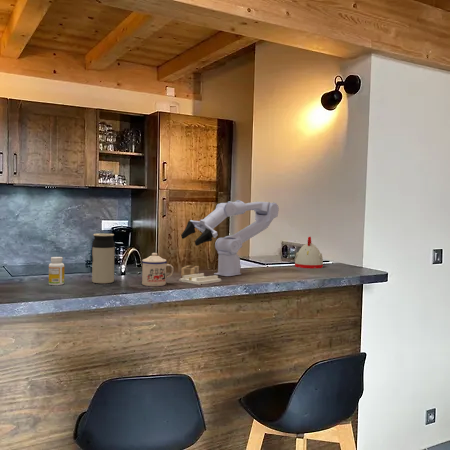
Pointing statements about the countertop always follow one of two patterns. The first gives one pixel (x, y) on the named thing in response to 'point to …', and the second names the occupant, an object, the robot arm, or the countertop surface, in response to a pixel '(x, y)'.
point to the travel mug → (103, 258)
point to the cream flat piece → (199, 279)
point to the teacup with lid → (155, 271)
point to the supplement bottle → (56, 271)
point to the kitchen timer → (309, 256)
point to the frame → (189, 270)
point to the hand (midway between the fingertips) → (188, 240)
